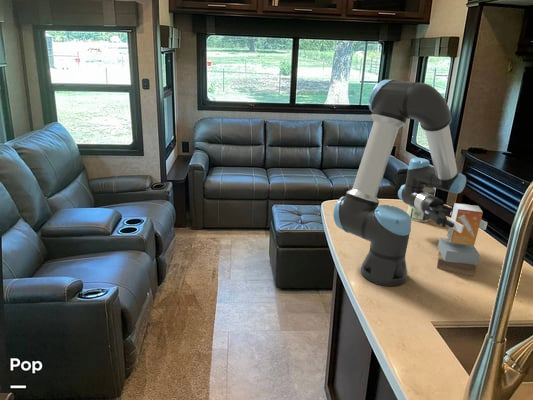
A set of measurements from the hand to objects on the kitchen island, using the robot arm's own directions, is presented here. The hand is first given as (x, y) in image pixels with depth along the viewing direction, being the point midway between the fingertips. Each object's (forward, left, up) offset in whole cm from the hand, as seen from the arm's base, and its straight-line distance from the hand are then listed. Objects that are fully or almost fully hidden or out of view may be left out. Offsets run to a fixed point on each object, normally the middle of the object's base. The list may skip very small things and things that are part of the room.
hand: (474, 227), depth 144 cm
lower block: (+3, +3, -17) cm, 18 cm away
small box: (+3, +3, -7) cm, 8 cm away
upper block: (+3, +3, -13) cm, 14 cm away
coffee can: (+44, +20, -17) cm, 51 cm away
